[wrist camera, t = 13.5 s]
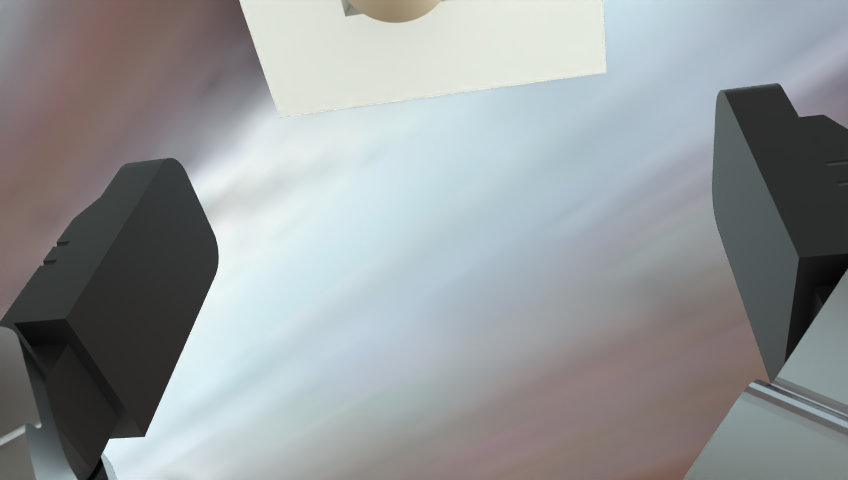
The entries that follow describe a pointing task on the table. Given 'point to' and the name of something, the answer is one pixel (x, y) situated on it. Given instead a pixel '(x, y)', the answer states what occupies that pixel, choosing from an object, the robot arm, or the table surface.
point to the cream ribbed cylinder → (394, 9)
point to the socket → (418, 49)
